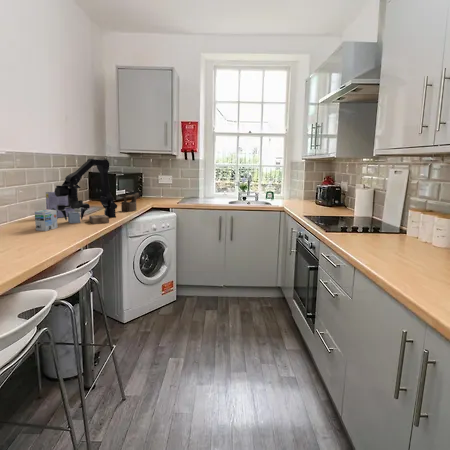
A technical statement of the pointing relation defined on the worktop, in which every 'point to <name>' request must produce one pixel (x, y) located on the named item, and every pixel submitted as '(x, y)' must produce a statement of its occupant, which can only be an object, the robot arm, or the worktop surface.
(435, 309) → the worktop surface
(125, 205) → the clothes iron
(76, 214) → the slate-blue cube
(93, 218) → the walnut block
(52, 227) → the light bulb box
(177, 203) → the worktop surface
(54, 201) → the cake pan box
